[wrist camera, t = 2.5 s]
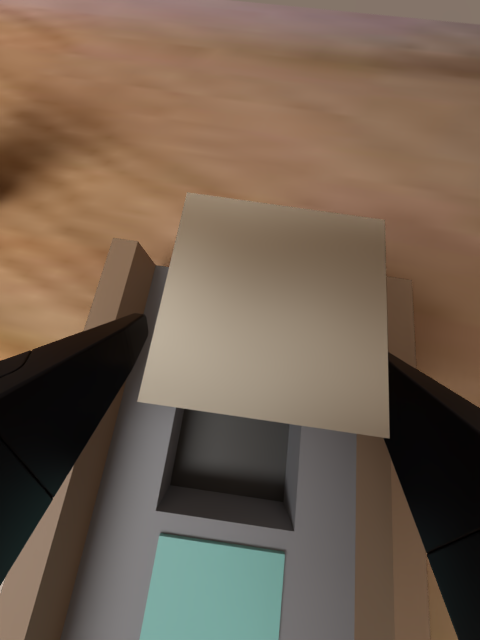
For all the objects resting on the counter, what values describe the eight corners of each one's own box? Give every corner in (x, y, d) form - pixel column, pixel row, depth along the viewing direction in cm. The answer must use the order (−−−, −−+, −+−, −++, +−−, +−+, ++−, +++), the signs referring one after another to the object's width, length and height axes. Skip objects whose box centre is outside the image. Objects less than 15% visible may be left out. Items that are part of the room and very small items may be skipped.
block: (280, 390, 14) (389, 438, 4) (204, 379, 14) (136, 401, 4) (287, 317, 15) (384, 219, 5) (217, 307, 15) (187, 192, 5)
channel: (350, 707, 13) (448, 992, 7) (53, 661, 13) (-99, 903, 7) (355, 308, 19) (412, 279, 13) (151, 279, 19) (113, 237, 13)
